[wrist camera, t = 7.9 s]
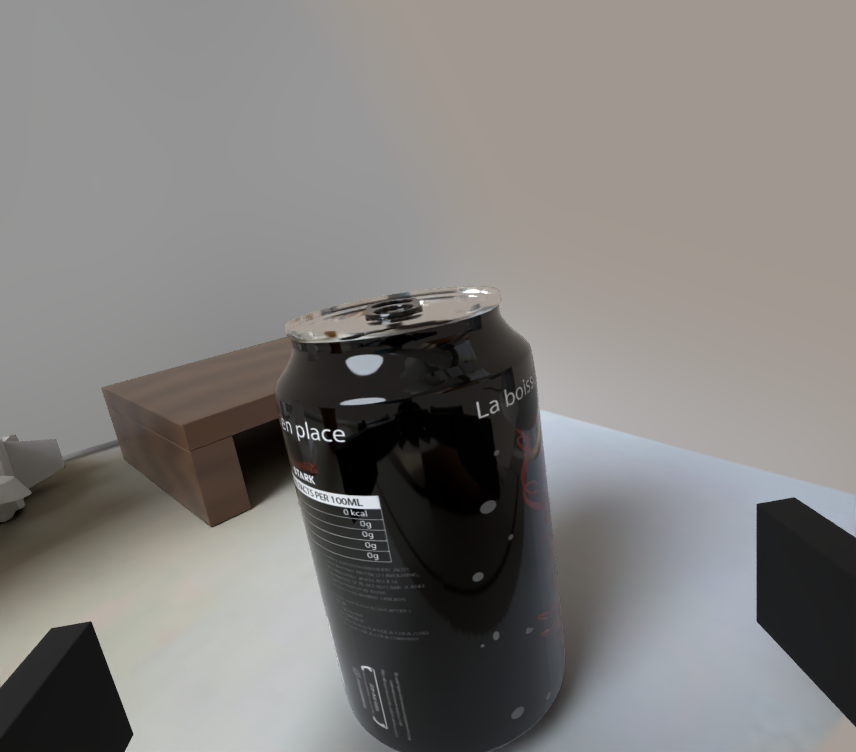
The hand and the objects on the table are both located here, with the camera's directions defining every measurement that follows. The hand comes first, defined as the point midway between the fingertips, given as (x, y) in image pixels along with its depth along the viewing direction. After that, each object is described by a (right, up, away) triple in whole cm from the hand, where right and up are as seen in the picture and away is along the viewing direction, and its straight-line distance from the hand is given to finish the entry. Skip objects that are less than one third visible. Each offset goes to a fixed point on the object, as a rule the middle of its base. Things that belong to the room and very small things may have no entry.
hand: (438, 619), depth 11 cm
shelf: (-12, 0, +31) cm, 33 cm away
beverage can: (+1, -5, +7) cm, 8 cm away
